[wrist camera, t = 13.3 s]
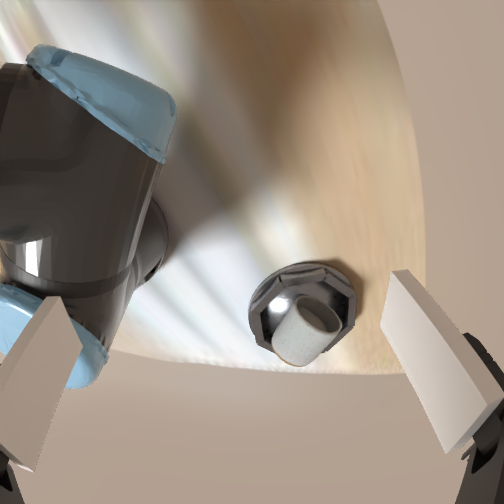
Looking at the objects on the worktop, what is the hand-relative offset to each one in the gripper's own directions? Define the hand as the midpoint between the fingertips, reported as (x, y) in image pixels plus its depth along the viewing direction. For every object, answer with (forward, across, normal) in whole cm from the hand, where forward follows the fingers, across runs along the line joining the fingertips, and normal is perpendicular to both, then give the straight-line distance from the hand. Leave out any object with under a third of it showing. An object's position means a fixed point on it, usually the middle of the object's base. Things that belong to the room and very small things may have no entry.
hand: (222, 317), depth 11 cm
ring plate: (+27, +9, -22) cm, 36 cm away
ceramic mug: (+26, +10, -23) cm, 36 cm away
